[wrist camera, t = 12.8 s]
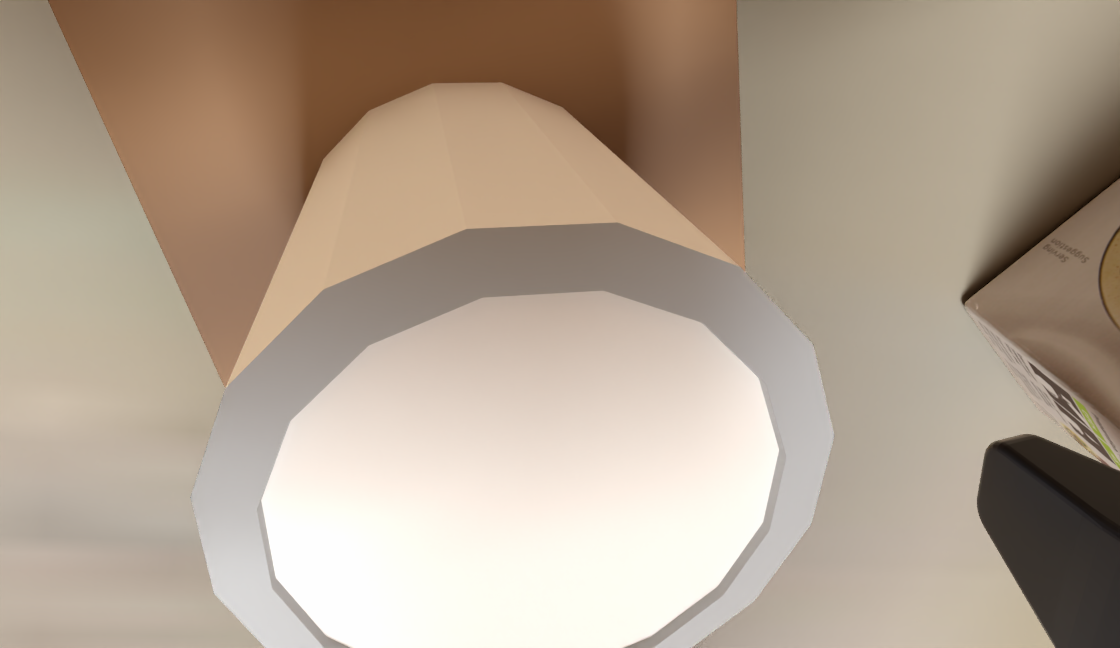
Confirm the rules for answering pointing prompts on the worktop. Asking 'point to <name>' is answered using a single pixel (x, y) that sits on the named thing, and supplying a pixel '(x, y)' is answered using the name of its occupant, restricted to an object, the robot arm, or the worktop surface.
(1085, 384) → the coffee box
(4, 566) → the worktop surface
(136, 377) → the worktop surface
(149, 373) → the worktop surface
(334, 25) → the copper brown block
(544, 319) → the faceted beige tumbler
